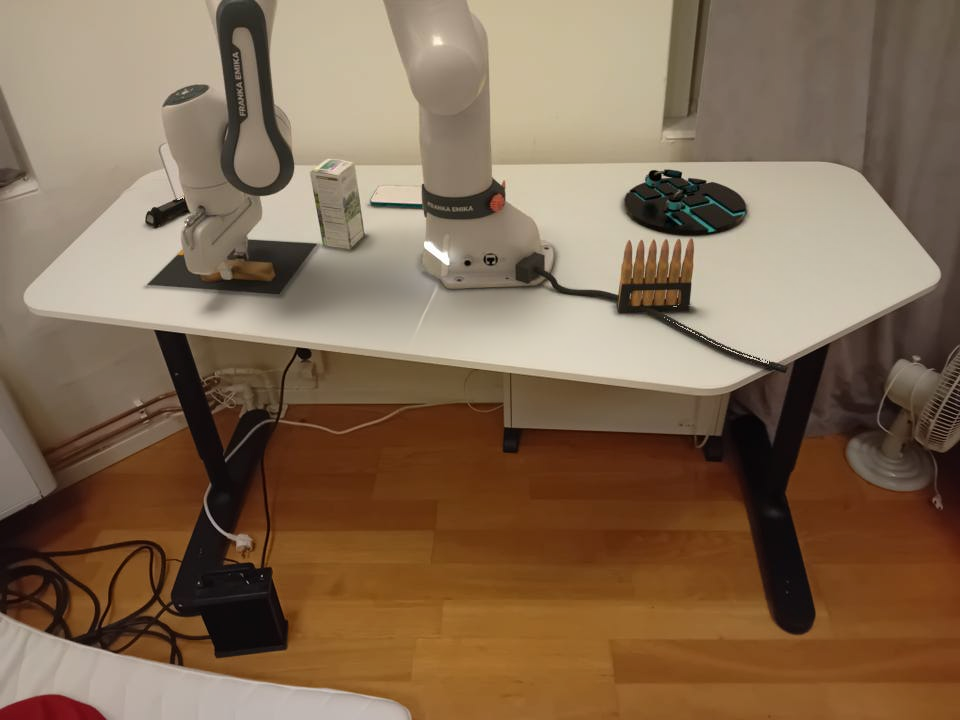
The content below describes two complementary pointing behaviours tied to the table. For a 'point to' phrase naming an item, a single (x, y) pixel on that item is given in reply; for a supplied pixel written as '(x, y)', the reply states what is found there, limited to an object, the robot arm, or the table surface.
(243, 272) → the orange wooden ladle
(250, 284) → the mat
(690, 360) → the table surface
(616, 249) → the table surface
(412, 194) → the smartphone
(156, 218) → the electric trimmer
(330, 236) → the syrup box
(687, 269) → the ammunition clip
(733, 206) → the platform
